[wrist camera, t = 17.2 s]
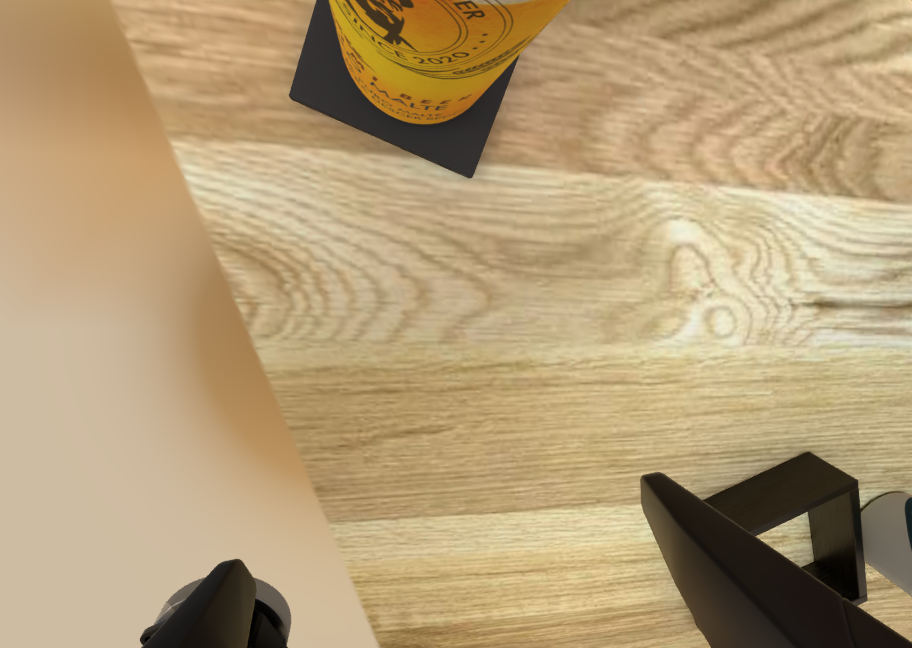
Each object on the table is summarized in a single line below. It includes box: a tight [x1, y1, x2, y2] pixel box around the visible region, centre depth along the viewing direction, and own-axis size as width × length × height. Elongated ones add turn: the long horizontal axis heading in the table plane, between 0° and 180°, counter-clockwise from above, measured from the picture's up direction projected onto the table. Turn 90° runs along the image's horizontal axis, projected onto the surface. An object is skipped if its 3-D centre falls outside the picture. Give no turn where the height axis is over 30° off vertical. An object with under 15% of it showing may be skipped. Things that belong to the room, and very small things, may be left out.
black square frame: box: [694, 452, 868, 635], centre depth 27 cm, size 10×10×3 cm
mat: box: [289, 0, 520, 178], centre depth 17 cm, size 8×8×1 cm
